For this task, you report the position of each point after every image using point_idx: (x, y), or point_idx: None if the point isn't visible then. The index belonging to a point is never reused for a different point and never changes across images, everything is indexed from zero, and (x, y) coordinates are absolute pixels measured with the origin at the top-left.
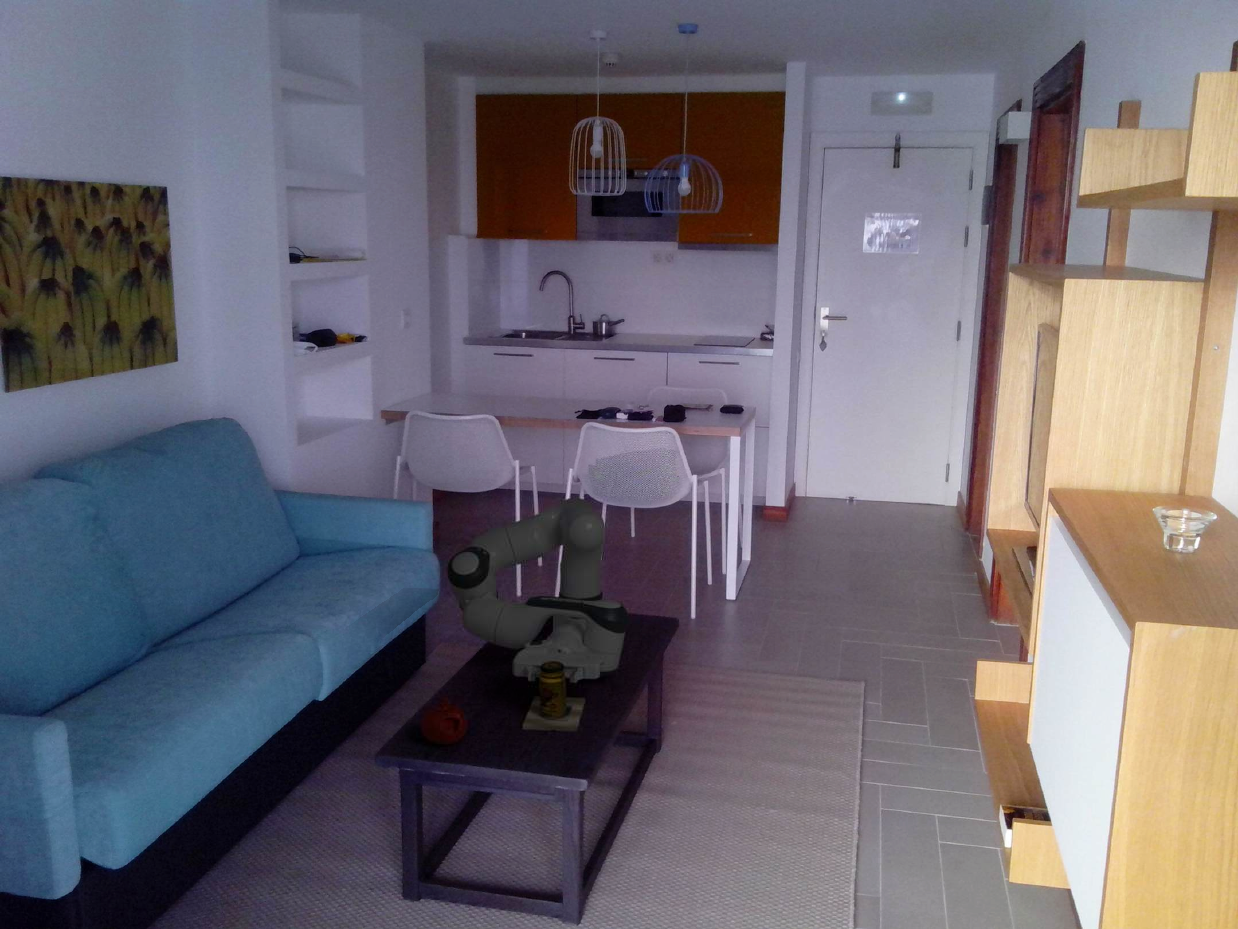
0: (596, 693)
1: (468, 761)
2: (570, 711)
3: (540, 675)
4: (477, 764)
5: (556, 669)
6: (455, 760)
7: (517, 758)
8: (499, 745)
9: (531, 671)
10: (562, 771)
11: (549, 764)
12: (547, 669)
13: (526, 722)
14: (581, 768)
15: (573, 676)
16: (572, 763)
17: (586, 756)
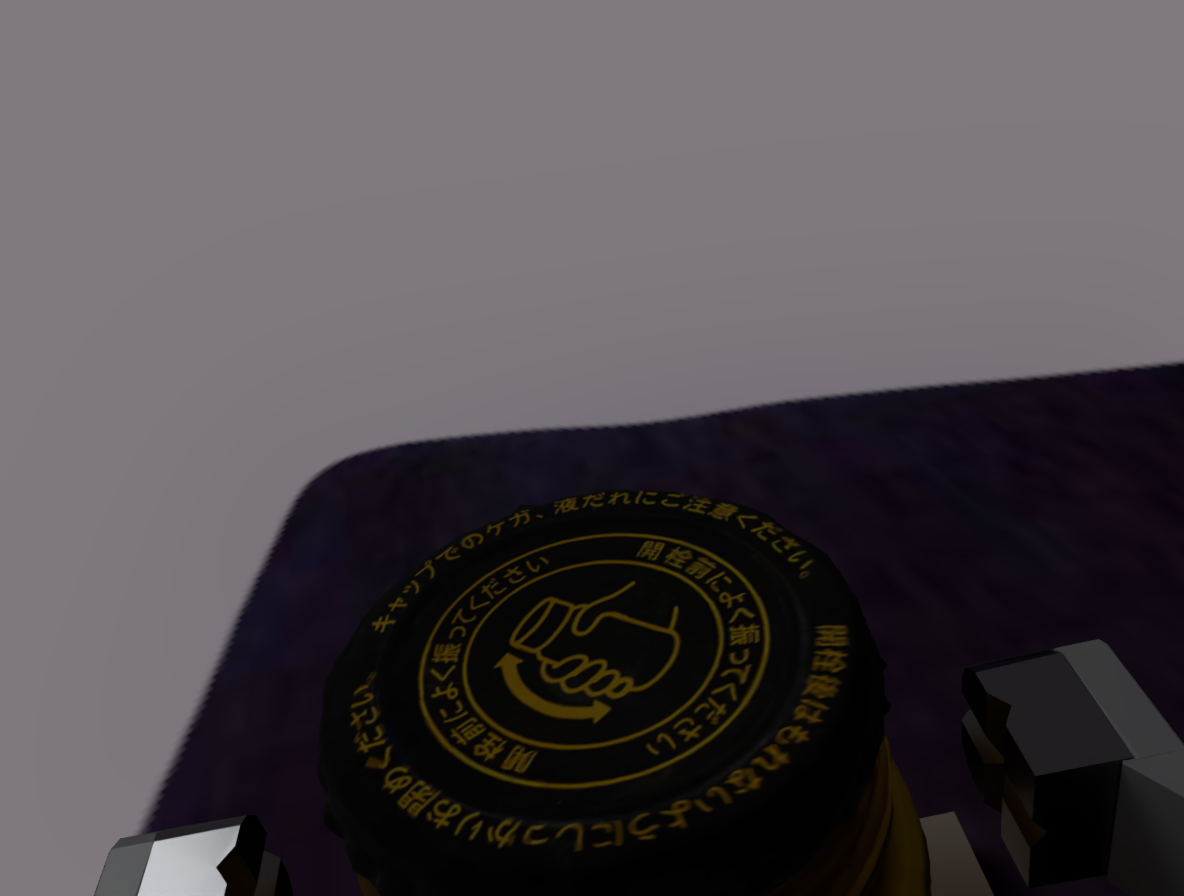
0: None
1: (1016, 388)
2: None
3: (897, 792)
4: (939, 385)
5: (455, 539)
6: (1102, 374)
7: (740, 485)
8: (965, 564)
9: (1137, 747)
10: (430, 467)
11: (518, 494)
12: (630, 492)
13: (952, 881)
14: (324, 514)
15: (179, 827)
16: (380, 537)
17: (291, 621)
